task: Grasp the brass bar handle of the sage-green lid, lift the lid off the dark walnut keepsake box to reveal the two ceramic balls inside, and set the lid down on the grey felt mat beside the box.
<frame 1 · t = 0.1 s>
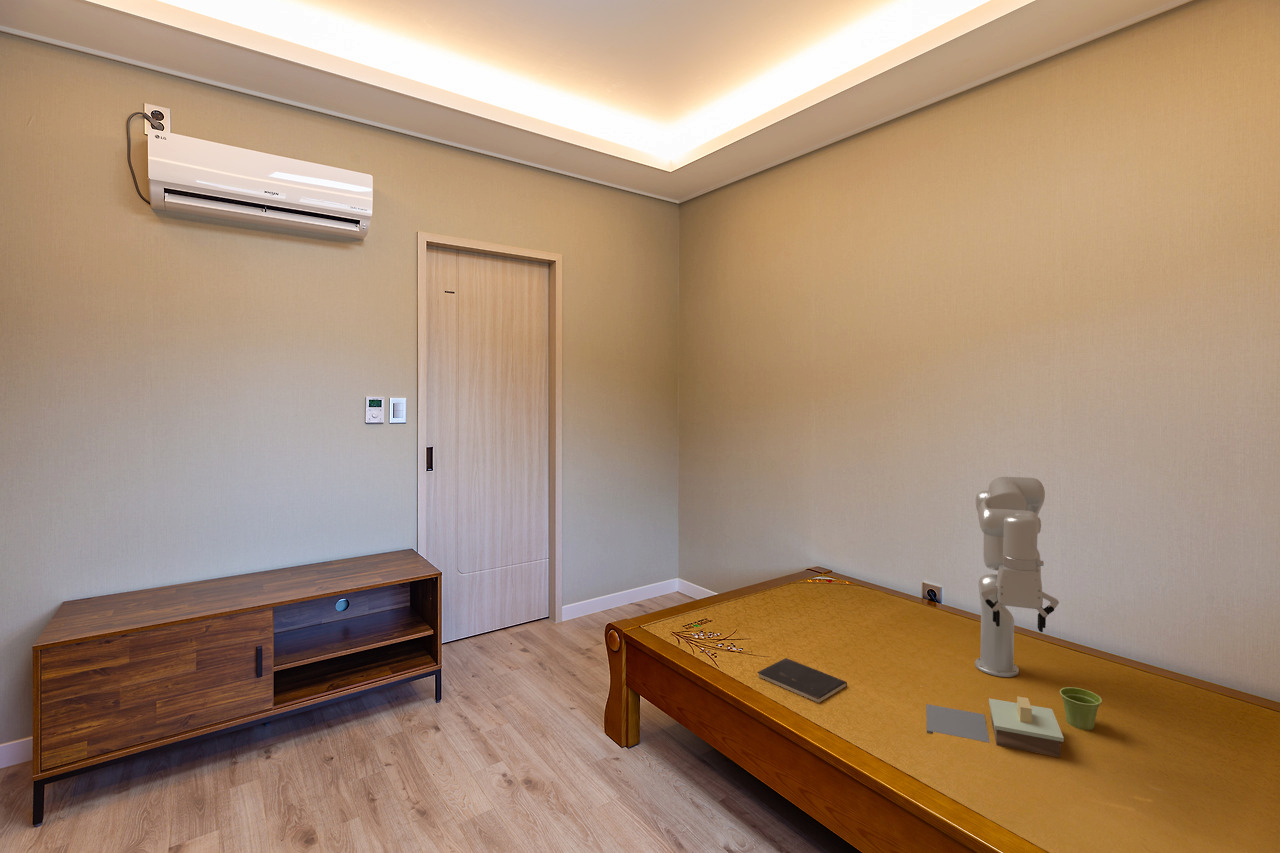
hand: (1018, 627, 161), 31 cm above the table, fingers open, 9 cm apart
terracotta ball: (1016, 739, 162), point 1 cm above the table, touching walnut box
hardcover book: (801, 683, 198), on the table
plant pot: (1079, 726, 169), on the table
felt mat: (956, 724, 171), on the table
walnut box: (1023, 738, 164), on the table
lid: (1023, 720, 163), point 5 cm above the table, touching walnut box
cream ball: (1033, 733, 165), point 1 cm above the table, touching walnut box
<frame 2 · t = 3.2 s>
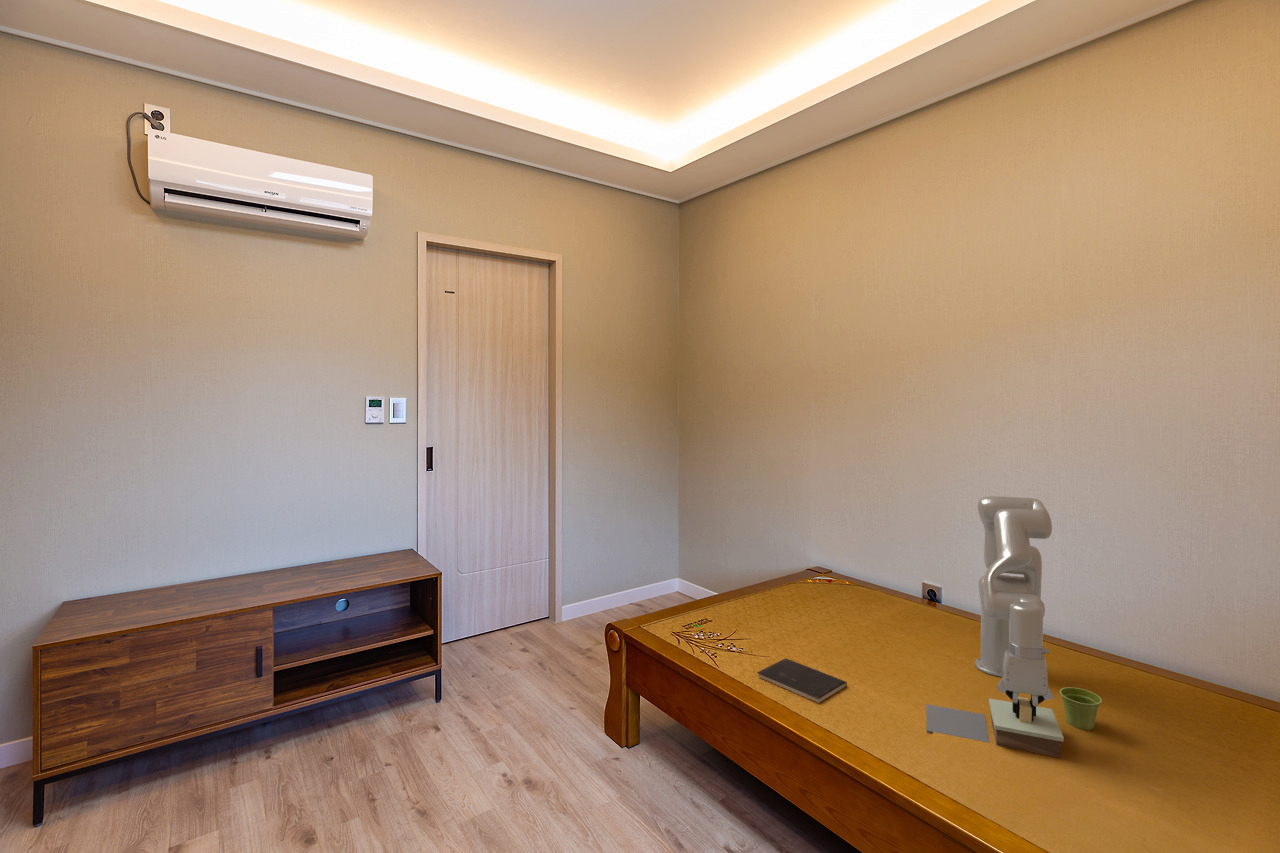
hand: (1024, 716, 163), 6 cm above the table, fingers closed on lid, 2 cm apart
lid: (1023, 720, 163), point 5 cm above the table, touching gripper
everything else where it was.
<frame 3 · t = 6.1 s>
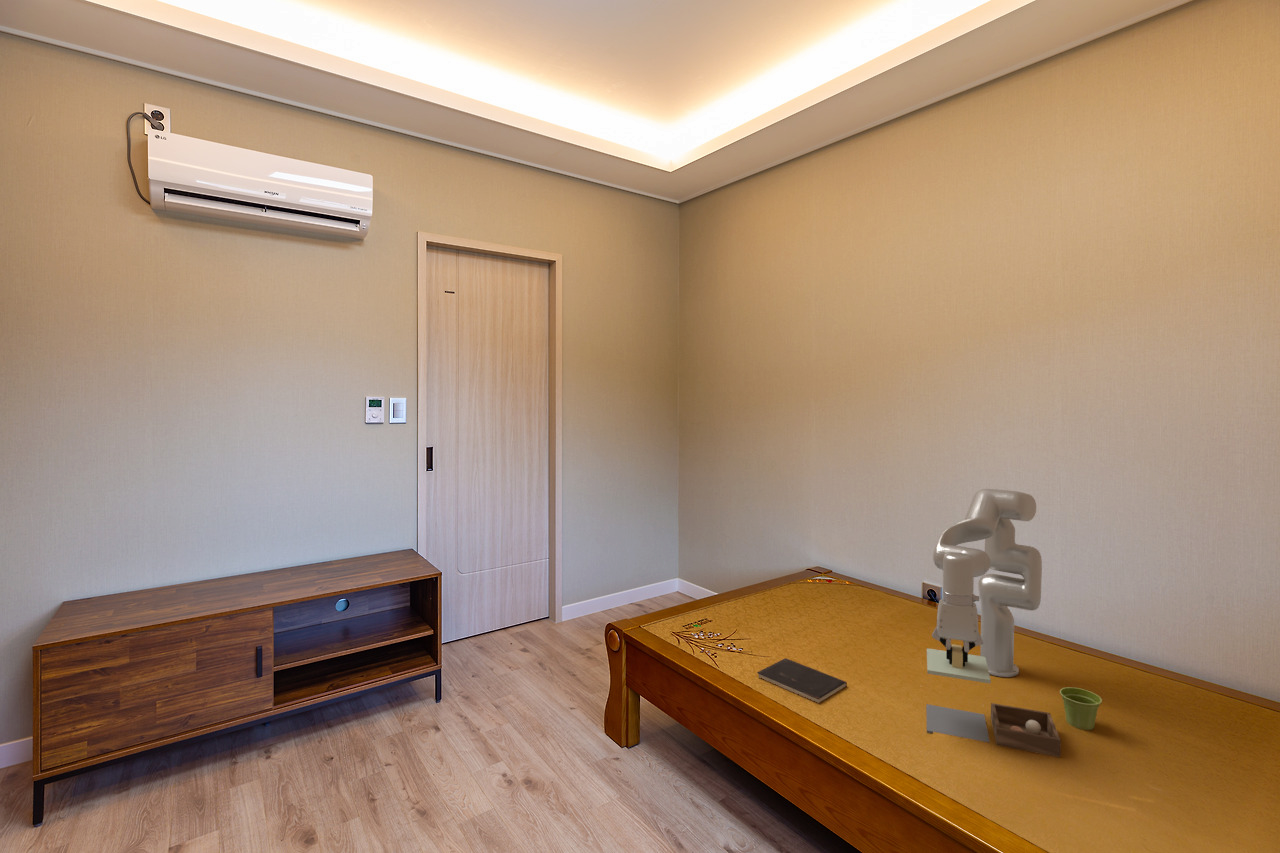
hand: (956, 662, 170), 18 cm above the table, fingers closed on lid, 2 cm apart
lid: (956, 666, 170), point 17 cm above the table, touching gripper
everything else where it was.
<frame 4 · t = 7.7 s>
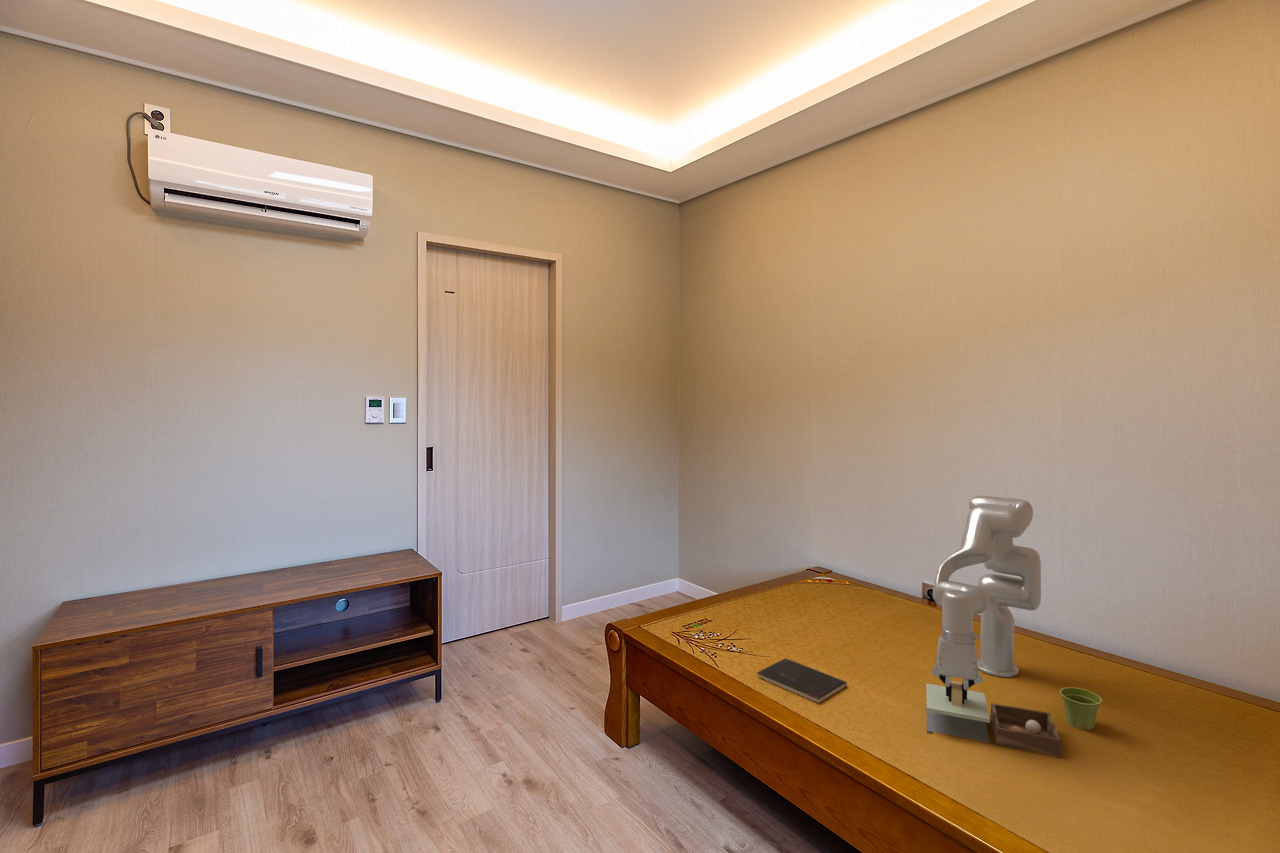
hand: (956, 699, 171), 7 cm above the table, fingers closed on lid, 2 cm apart
lid: (956, 703, 171), point 6 cm above the table, touching gripper
everything else where it was.
when the fingers open (4 cm above the table, at t = 9.1 s): lid drops 2 cm, resting on felt mat.
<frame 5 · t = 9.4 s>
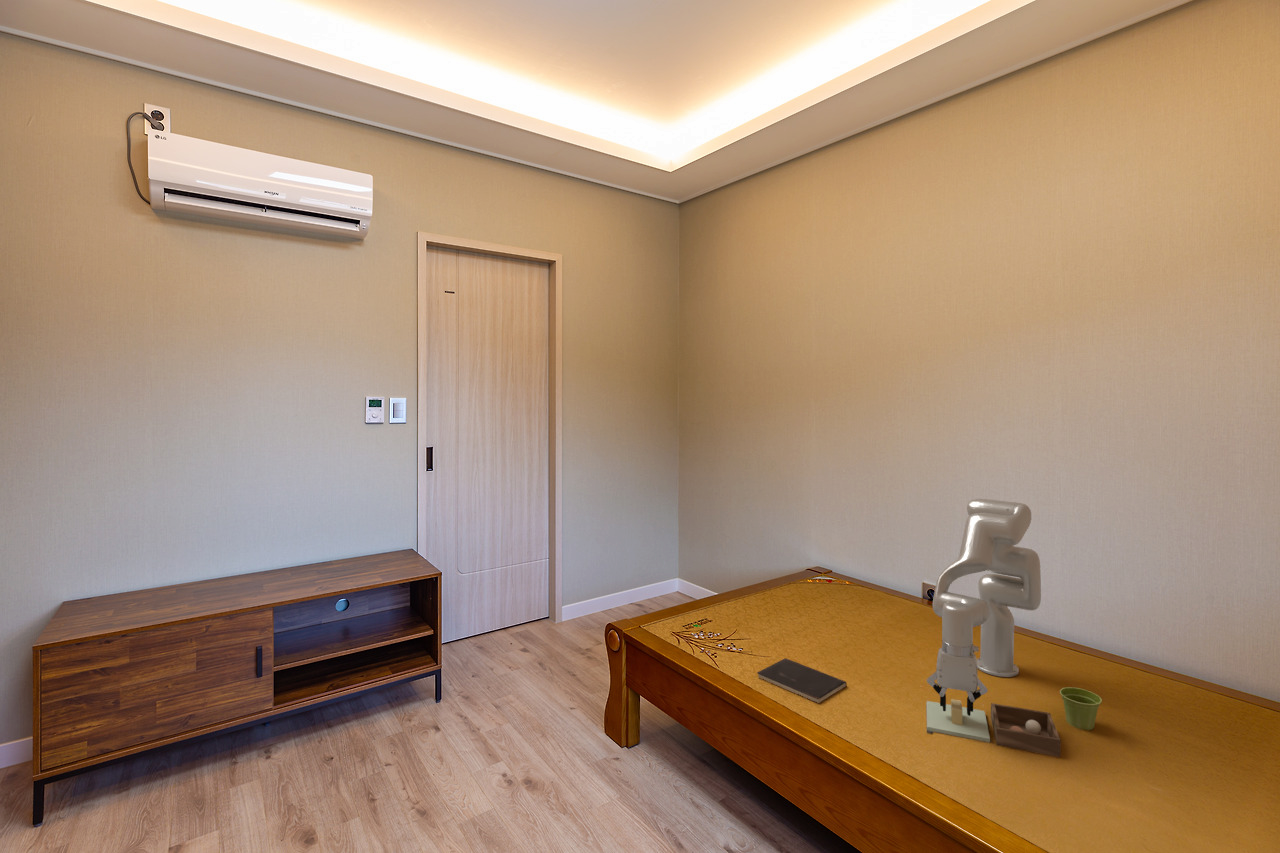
hand: (956, 710, 171), 4 cm above the table, fingers open, 5 cm apart
lid: (956, 722, 171), point 1 cm above the table, touching felt mat
everything else where it was.
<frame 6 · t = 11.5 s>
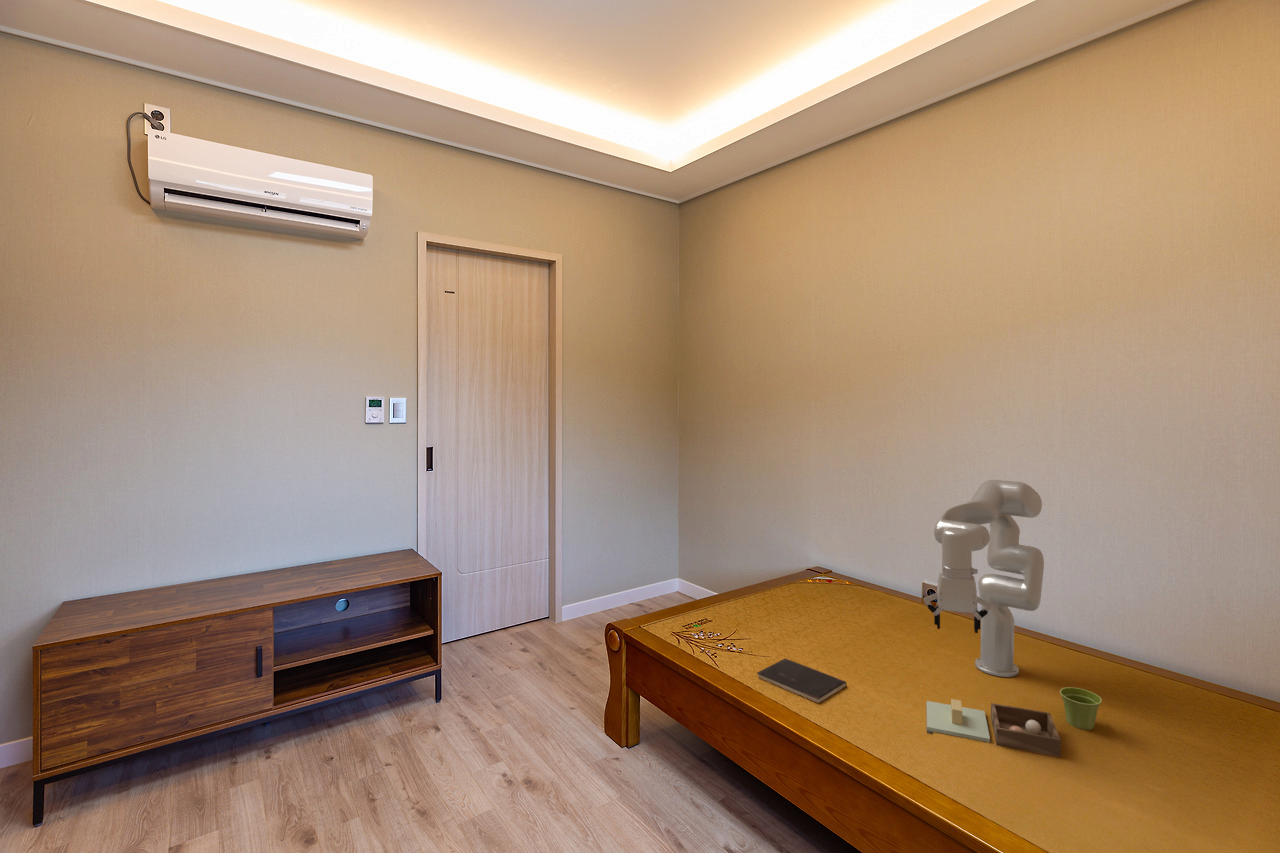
hand: (957, 629, 177), 24 cm above the table, fingers open, 9 cm apart
nothing on the table moved.
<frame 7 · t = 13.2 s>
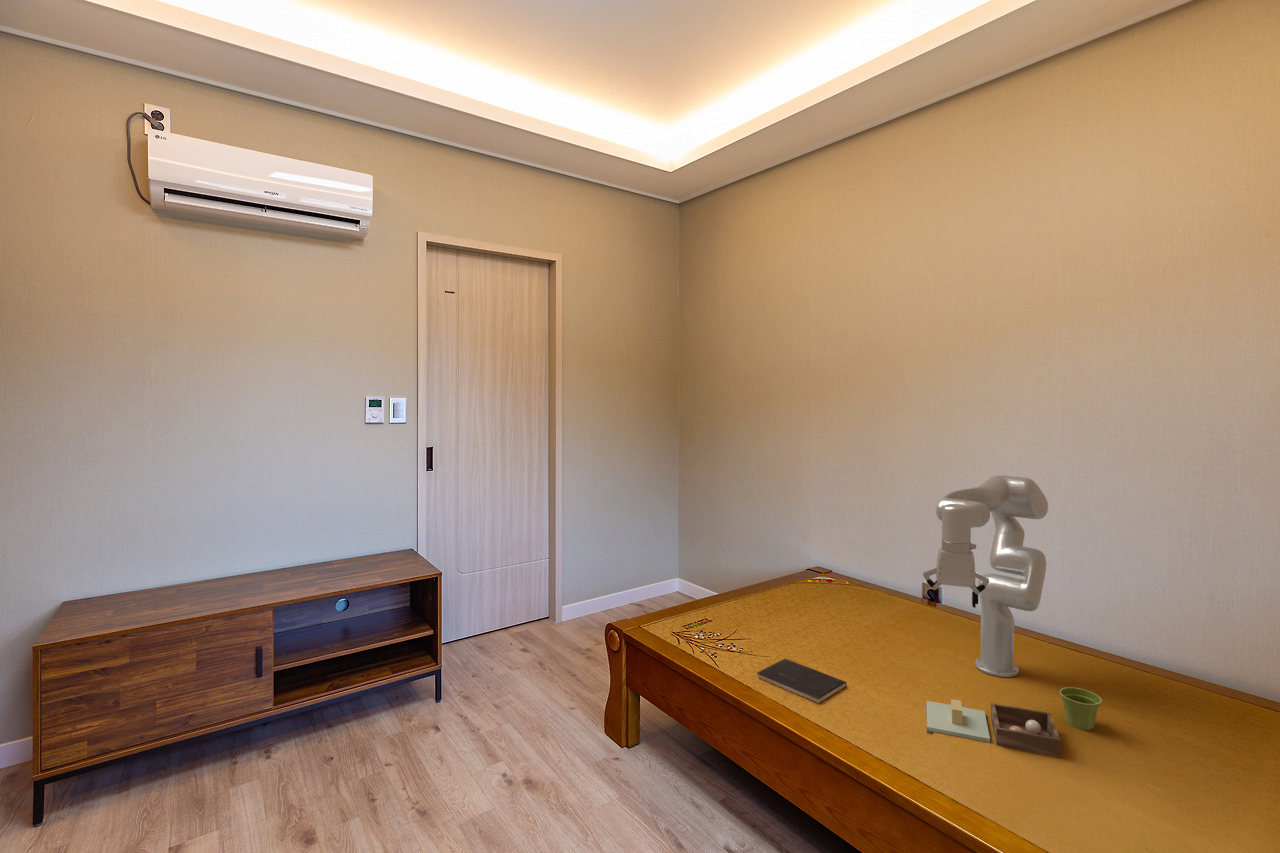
hand: (955, 604, 180), 30 cm above the table, fingers open, 9 cm apart
nothing on the table moved.
at the end: lid inside the target area on the felt mat (0.1 cm from its centre), point 0.6 cm above the felt mat's base; lid tilted 0°; lid touching felt mat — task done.
